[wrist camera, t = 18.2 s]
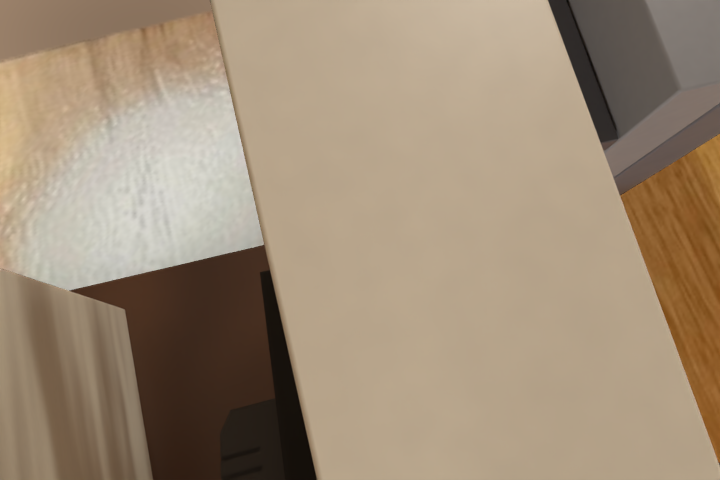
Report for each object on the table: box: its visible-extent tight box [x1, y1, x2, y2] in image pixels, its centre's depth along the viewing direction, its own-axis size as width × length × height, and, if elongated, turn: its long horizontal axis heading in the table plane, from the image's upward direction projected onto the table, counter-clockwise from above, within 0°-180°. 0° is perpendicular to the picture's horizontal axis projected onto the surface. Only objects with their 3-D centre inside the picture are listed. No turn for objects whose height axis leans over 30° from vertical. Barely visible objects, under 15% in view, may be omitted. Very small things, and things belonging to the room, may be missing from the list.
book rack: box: [0, 245, 275, 480], centre depth 18 cm, size 20×14×19 cm
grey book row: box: [548, 0, 720, 195], centre depth 24 cm, size 7×10×16 cm
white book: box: [210, 0, 720, 480], centre depth 14 cm, size 3×11×18 cm, turn 14°
